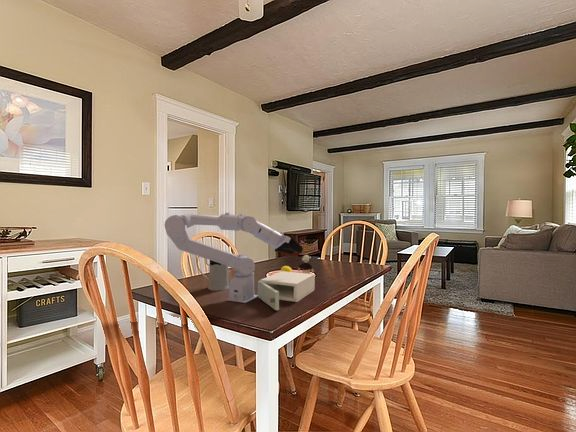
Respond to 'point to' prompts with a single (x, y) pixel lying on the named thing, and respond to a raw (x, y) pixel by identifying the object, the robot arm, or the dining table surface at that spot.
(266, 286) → the door
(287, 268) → the lemon
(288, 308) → the dining table surface
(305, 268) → the grandmother figurine
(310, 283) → the cabinet
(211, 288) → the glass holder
